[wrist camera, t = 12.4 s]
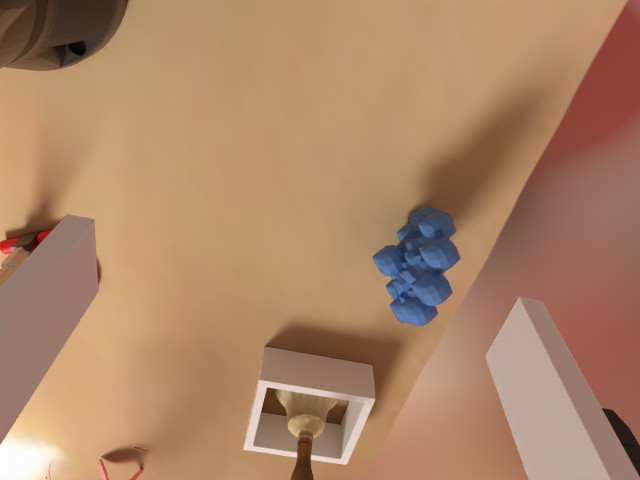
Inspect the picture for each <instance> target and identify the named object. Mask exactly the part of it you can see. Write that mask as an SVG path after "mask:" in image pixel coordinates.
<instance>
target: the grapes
mask: <svg viewBox="0 0 640 480" xmlns="http://www.w3.org/2000/svg"><path fill="white" fill-rule="evenodd" d="M408 219H409V221H410V223H408V224H407V225H405V226H404V227H402V228H401V229H400V230H399V231H398V232H397V234H398V236H399V239H400V241H401V243H399V244H398V245H397V246H395V245H389V246H386V247H384V248H383V249H381V250H380V251H379V252H377V253H376V254H375V255H374V256H373V257H372V258H373V260H374V262H375V264H376V266H377V267H378V269H379V270H380V272H381V273H382V274H384V275H385V276H391V278H392V280H391V281H390V282H389V283H388V284H387V285H386V288H387V290H388V292H389V294H390V295H391V297H392V298H393V300H394V301H393V302H392V303H391V304H390V307H391V309H392V311H393V313H394V314H395V316H396V317H397V319H398V320H399V321H401V322H402V323H411V324H412V325H414V326H423V325H425V324H427V323H429V322H430V321H431V320H432V319H433V318H434V317H435V316H436V315H437V314H438V312H437V309H436V307H435V306H436V305H439V304H440V303H442V302H444V301H445V300H446V299H447V298H448V297H449V296H450V295H451V294H452V293H453V292H452V289H451V287H450V284H449V282H448V280H447V279H446V278H445V276H444V275H443V273H444V272H445V271H446V270H448V269H449V268H451V267H452V266H453V265H454V264H456V263H457V262H458V260H459V259H460V255H459V253H458V250H457V248H456V246H455V245H454V243H453V242H452V241H451V240H449V238H450V237H451V236H452V235H453V234H454V233H455V232H456V229H455V226H454V223H453V221H452V219H451V218H450V217H449V215H448V214H446V213H444V212H442V211H437V210H436V209H434V208H432V207H430V206H426V207H422V208H420V209H419V210H417V211H416V212H414V213H413V214H412V215H411V216H410V217H409V218H408Z"/></svg>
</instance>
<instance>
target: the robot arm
mask: <svg viewBox="0 0 640 480" xmlns="http://www.w3.org/2000/svg"><path fill="white" fill-rule="evenodd" d="M126 2H127V0H0V68H2V67H7V68H16V69H24V70H33V71H49V70H56V69H61V68H66V67H69V66H72V65H74V64H77V63H79V62H81V61H82V60H84V59H86V58H88V57H90V56H92V55H93V54H95V53H96V52H98V51H99V50H100V49H102V48H103V47H104V46H105V45H106V44H107V43H108V42H109V40H110V39H111V38H112V37H113V35H114V34H115V32H116V30H117V29H118V27H119V25H120V23H121V20H122V18H123V15H124V11H125V8H126ZM97 293H98V274H97V257H96V240H95V224H94V219H90V218H84V217H79V216H74V215H68V214H67V215H66V216H65V217H64V218H63V219H62V220H61V222H60V223H59V224H58V225H57V226H56V227H55V228H54V229H53V230H52V231H51V232H50V234H49V235H48V236H47V237H46V238H45V239H44V240H43V241H42V242H41V243H40V244H39V245H38V247H37V248H36V249H35V250H34V251H33V252H32V253H31V254H30V255H29V256H28V257H27V259H26V260H25V261H24V262H23V263H22V264H21V265H20V266H19V267H18V268H17V269H16V270H15V272H14V273H13V274H12V275H11V276H10V277H9V278H8V279H7V280H6V281H5V282H4V284H3V285H2V286H1V287H0V444H1V443H2V441H3V440H4V438H5V437H6V435H7V433H8V432H9V430H10V429H11V427H12V426H13V424H14V423H15V421H16V419H17V418H18V416H19V415H20V413H21V412H22V410H23V408H24V407H25V405H26V404H27V402H28V401H29V399H30V398H31V396H32V394H33V393H34V391H35V390H36V388H37V387H38V385H39V383H40V382H41V380H42V379H43V377H44V376H45V374H46V373H47V371H48V369H49V368H50V366H51V365H52V363H53V362H54V360H55V359H56V357H57V355H58V354H59V352H60V351H61V349H62V348H63V346H64V344H65V343H66V341H67V340H68V338H69V337H70V335H71V334H72V332H73V330H74V329H75V327H76V326H77V324H78V323H79V321H80V319H81V318H82V316H83V315H84V313H85V312H86V310H87V309H88V307H89V305H90V304H91V302H92V301H93V299H94V298H95V296H96V294H97ZM485 357H486V360H487V363H488V366H489V369H490V372H491V375H492V377H493V380H494V383H495V386H496V389H497V391H498V394H499V397H500V400H501V403H502V406H503V409H504V411H505V414H506V417H507V420H508V423H509V426H510V428H511V431H512V434H513V437H514V440H515V443H516V445H517V448H518V451H519V454H520V457H521V459H522V463H523V465H524V468H525V471H526V473H527V476H528V480H640V445H639V444H638V442H637V440H636V439H635V437H634V435H633V434H632V432H631V430H630V428H629V427H628V426H627V425H626V424H625V423H624V422H623V421H622V420H621V419H620V418H619V417H618V415H617V414H616V413H615V412H614V411H613V410H610V409H604V408H601V407H600V405H599V403H598V401H597V399H596V397H595V396H594V394H593V392H592V390H591V389H590V387H589V385H588V383H587V381H586V380H585V378H584V376H583V374H582V372H581V371H580V369H579V367H578V365H577V364H576V362H575V360H574V358H573V356H572V354H571V353H570V351H569V349H568V347H567V345H566V344H565V342H564V340H563V338H562V337H561V335H560V333H559V331H558V329H557V328H556V326H555V324H554V322H553V320H552V319H551V317H550V315H549V313H548V311H547V309H546V308H545V306H544V304H543V302H542V301H539V300H534V299H528V298H523V297H519V298H518V300H517V302H516V304H515V305H514V307H513V309H512V310H511V312H510V314H509V316H508V318H507V319H506V321H505V323H504V325H503V326H502V328H501V330H500V332H499V333H498V335H497V337H496V339H495V340H494V342H493V344H492V346H491V348H490V349H489V351H488V353H487V354H486V356H485Z"/></svg>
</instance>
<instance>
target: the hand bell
mask: <svg viewBox="0 0 640 480" xmlns="http://www.w3.org/2000/svg"><path fill="white" fill-rule="evenodd" d="M275 393H276V396H277V399H278V400H279V402H280V403H281V404H282V405H283V406H284V407H285V409H286V413H287V425H288V429H289V431H290V432H291V433H292V434H293V435H295V436H296V437H298V443H297V445H298V447H297V462H296V466H295V469H294V471H293V474H292V477H291V480H314V479H313V474H312V470H311V462H310V460H311V451H312V442H313V438H315V437H317V436H319V435H320V434H322V432H323V431H324V429H325V423H326V417H327V414H328V411H329V410H330V409H331V408H332V407H333V406H334V405H335V404H336V403H337V402H338V400H339V399H335V398H329V397H323V396H317V395H311V394H305V393H299V392H293V391H286V390H280V389H275Z"/></svg>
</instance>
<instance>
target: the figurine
mask: <svg viewBox="0 0 640 480" xmlns="http://www.w3.org/2000/svg"><path fill="white" fill-rule="evenodd" d="M135 448H137V447H135ZM137 449H140V450H144V449H141V448H137ZM144 451H147V450H144ZM102 463H103V462H102V460H101V459H100V460H99V464H100V472H101V479H102V480H109V479H108V476H107V472H106V469H105V467H104V464H102ZM50 465H51V464H50ZM102 465H103V468H102ZM49 469H50V468H49ZM142 472H143V471H142V470H141V469H140V470H139V471H138V472H137V473H136V474H135V475H134V476H133V477H132V478H131V479H130V480H135V479H136V478H137V477H138V476H139V475H140V474H141V473H142ZM49 478H50V473H49ZM46 479H47V477H46ZM50 480H51V479H50Z"/></svg>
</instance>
